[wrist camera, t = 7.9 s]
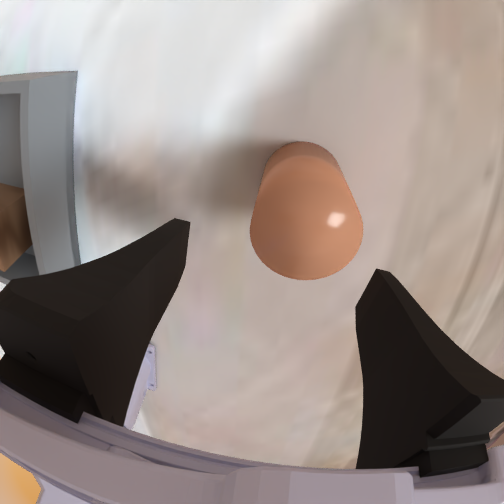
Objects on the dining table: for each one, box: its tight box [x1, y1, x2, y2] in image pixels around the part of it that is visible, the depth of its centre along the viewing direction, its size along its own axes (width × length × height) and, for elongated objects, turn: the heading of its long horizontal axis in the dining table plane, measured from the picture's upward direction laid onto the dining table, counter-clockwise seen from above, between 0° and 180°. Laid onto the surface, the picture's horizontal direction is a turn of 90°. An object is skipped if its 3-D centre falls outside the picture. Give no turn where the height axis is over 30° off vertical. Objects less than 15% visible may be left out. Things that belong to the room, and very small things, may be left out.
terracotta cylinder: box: [250, 142, 363, 280], centre depth 17 cm, size 5×5×7 cm
